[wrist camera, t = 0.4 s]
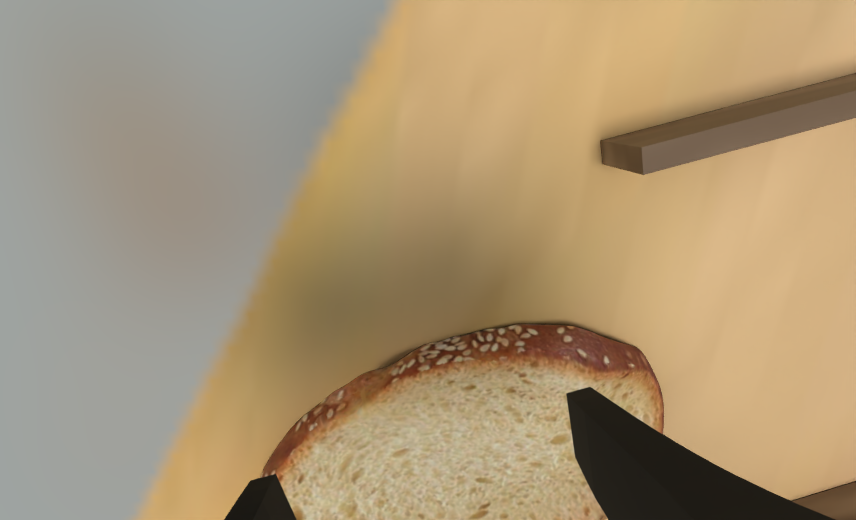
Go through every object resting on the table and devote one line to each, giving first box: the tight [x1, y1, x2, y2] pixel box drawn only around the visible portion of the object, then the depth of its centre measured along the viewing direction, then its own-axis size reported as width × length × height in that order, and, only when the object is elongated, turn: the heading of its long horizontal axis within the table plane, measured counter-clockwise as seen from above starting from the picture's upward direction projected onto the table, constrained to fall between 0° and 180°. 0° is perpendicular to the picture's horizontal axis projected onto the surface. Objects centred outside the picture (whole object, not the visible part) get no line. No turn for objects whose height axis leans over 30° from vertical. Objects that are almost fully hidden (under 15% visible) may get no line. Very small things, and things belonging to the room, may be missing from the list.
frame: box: [601, 73, 856, 520], centre depth 22 cm, size 26×20×3 cm
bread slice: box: [261, 324, 664, 520], centre depth 22 cm, size 18×18×4 cm
